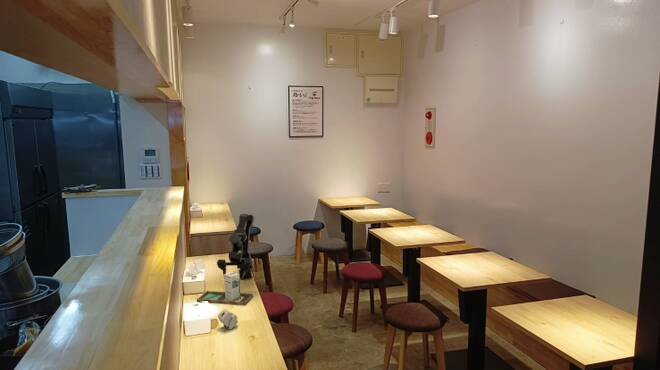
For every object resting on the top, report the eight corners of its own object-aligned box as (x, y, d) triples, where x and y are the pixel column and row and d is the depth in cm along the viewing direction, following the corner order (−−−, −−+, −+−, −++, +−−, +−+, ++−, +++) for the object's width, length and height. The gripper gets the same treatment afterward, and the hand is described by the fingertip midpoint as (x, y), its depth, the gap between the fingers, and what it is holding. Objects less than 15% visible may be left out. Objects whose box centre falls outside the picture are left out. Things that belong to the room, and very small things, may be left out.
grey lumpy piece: (227, 328, 204) (213, 317, 199) (236, 316, 206) (223, 304, 201) (233, 333, 199) (219, 321, 194) (242, 320, 202) (229, 309, 197)
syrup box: (232, 302, 228) (231, 276, 226) (225, 300, 232) (223, 273, 230) (240, 299, 233) (239, 273, 231) (233, 296, 236) (232, 270, 234)
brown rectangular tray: (253, 296, 236) (253, 294, 236) (245, 305, 225) (245, 302, 225) (207, 293, 241) (207, 290, 241) (197, 301, 230) (196, 299, 230)
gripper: (216, 245, 236) (212, 271, 227) (251, 244, 236) (248, 271, 227) (221, 255, 245) (216, 281, 236) (254, 254, 245) (251, 280, 235)
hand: (233, 278), depth 233 cm, fingers open, 9 cm apart
